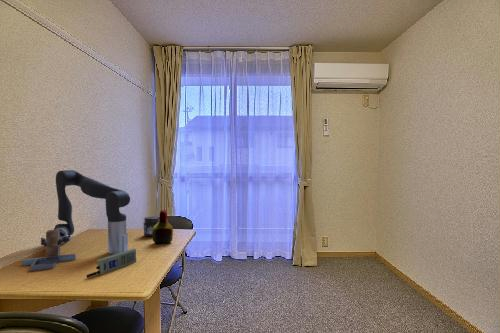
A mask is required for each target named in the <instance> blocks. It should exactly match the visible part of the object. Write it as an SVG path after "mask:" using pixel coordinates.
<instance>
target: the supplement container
mask: <svg viewBox="0 0 500 333" xmlns="http://www.w3.org/2000/svg"><path fill="white" fill-rule="evenodd" d="M143 219H144V220H143V221H144V222H143V236H144V237H145V238H153V237H152V231H153V227H154V226H155V225H156V224H157V223H158V222H159V216H156V215H154V216H146V217H143Z"/></svg>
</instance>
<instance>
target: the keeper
mask: <svg viewBox="0 0 500 333" xmlns="http://www.w3.org/2000/svg"><path fill="white" fill-rule="evenodd" d="M76 260H77V253H70V254H69V253H68V254H60V255H59V256H50V257H46V256H41V257H33V258H32V257H31V258H23V259H22V265H21V266H30V272H37V271H47V270H53V269H55V267H56V265H57V264H58V263H59V262H67V261H69V262H70V261H76Z"/></svg>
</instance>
